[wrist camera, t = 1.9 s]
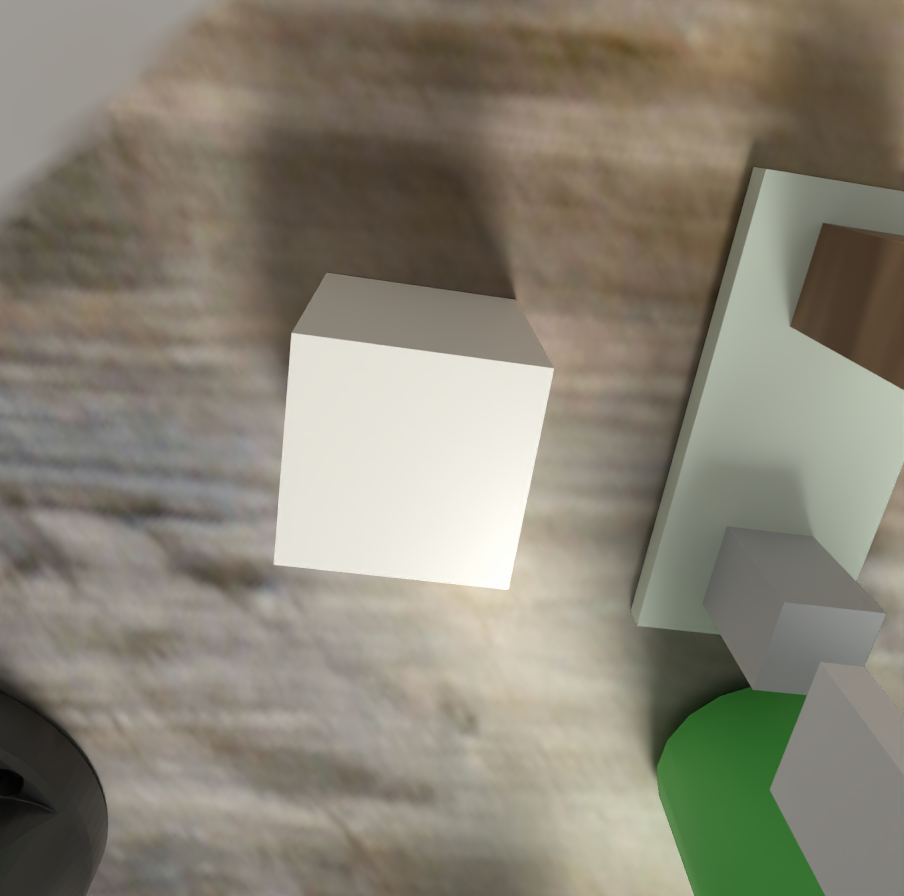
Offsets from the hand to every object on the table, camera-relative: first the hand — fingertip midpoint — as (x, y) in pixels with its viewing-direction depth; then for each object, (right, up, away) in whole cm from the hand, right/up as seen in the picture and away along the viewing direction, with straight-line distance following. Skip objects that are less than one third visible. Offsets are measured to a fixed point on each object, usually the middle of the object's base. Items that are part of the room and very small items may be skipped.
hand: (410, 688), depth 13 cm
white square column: (-1, +6, +15) cm, 16 cm away
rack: (+13, +5, +16) cm, 21 cm away
